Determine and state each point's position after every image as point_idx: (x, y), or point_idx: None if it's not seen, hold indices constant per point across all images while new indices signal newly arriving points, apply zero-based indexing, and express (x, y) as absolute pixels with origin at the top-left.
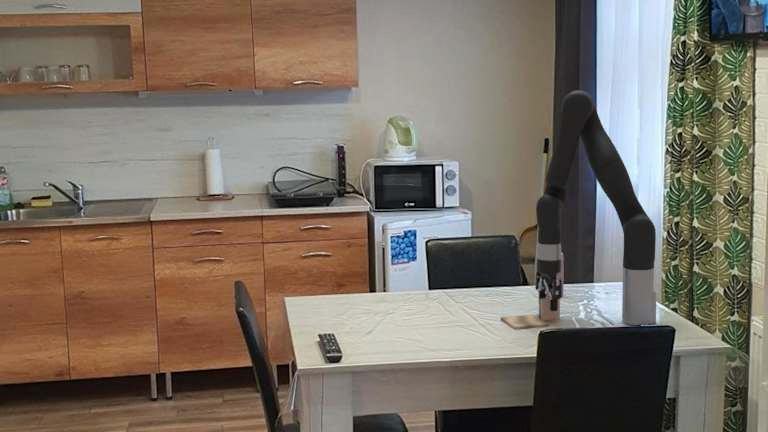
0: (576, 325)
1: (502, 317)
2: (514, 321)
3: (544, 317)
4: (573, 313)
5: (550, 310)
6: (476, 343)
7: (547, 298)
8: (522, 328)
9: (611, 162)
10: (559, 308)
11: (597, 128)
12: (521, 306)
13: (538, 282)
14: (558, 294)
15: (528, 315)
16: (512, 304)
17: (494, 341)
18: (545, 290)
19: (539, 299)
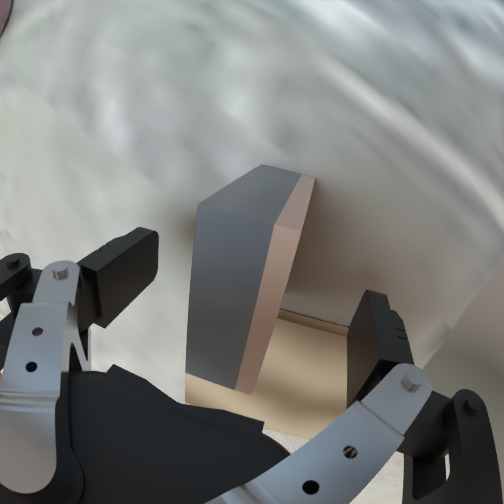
0: (494, 210)
1: (188, 400)
2: (265, 413)
3: (285, 289)
4: (239, 12)
5: (349, 330)
6: (358, 497)
7: (228, 339)
8: None
9: None
10: (309, 198)
11: None
12: (35, 201)
13: (2, 353)
14: (2, 11)
15: None
16: (16, 214)
17: (377, 484)
18: (79, 298)
19: (200, 370)
